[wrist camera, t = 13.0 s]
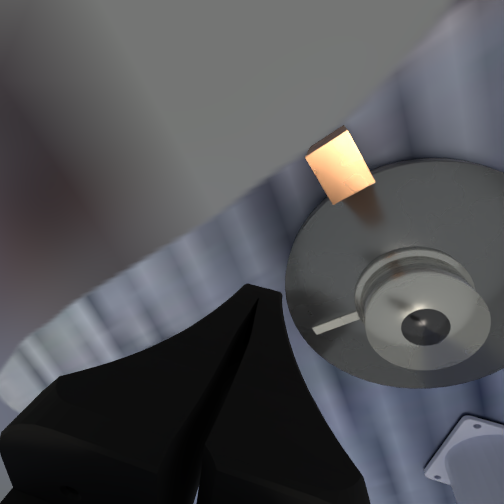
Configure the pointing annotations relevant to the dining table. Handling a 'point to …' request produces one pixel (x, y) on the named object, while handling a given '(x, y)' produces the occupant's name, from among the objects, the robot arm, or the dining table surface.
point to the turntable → (390, 238)
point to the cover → (421, 309)
